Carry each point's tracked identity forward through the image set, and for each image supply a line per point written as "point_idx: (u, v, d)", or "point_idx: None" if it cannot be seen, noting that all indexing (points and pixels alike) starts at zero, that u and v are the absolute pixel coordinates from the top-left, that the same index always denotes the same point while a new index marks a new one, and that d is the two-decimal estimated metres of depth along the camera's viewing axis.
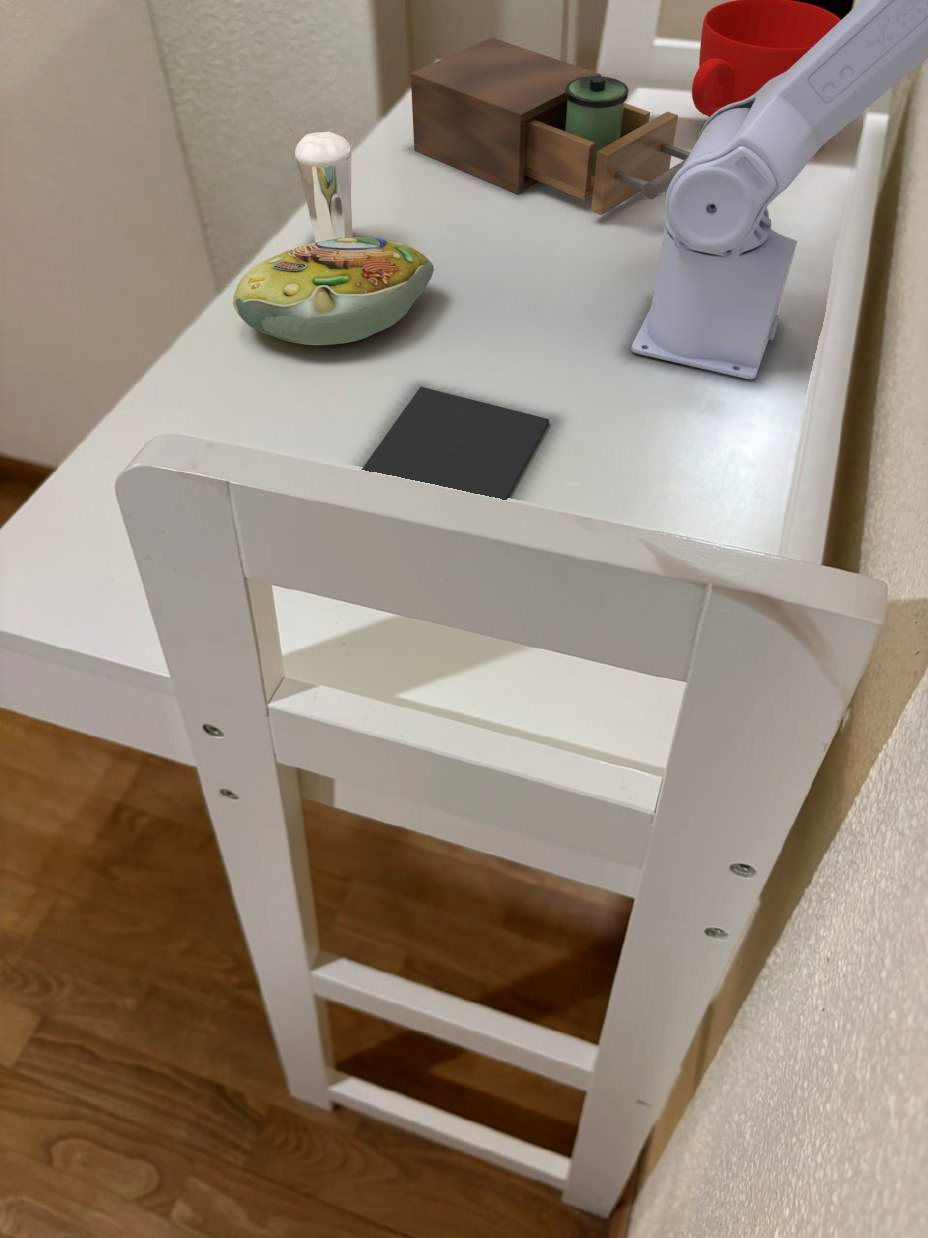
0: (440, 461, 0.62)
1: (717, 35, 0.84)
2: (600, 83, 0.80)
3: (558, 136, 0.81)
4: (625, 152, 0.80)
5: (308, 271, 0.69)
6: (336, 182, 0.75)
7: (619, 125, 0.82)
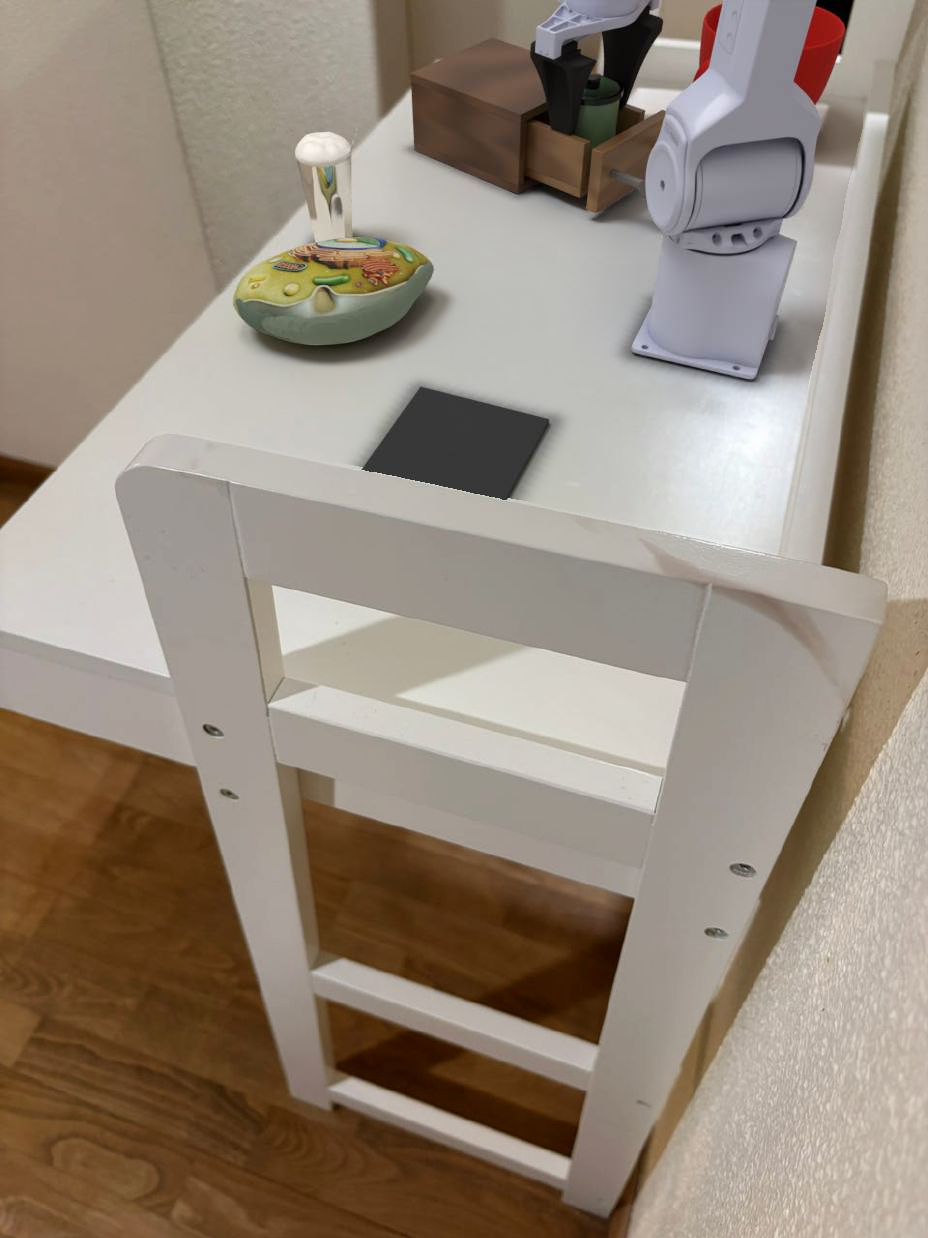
0: (440, 461, 0.62)
1: None
2: (595, 81, 0.80)
3: (553, 134, 0.81)
4: (620, 151, 0.80)
5: (308, 271, 0.69)
6: (336, 182, 0.75)
7: (614, 123, 0.82)
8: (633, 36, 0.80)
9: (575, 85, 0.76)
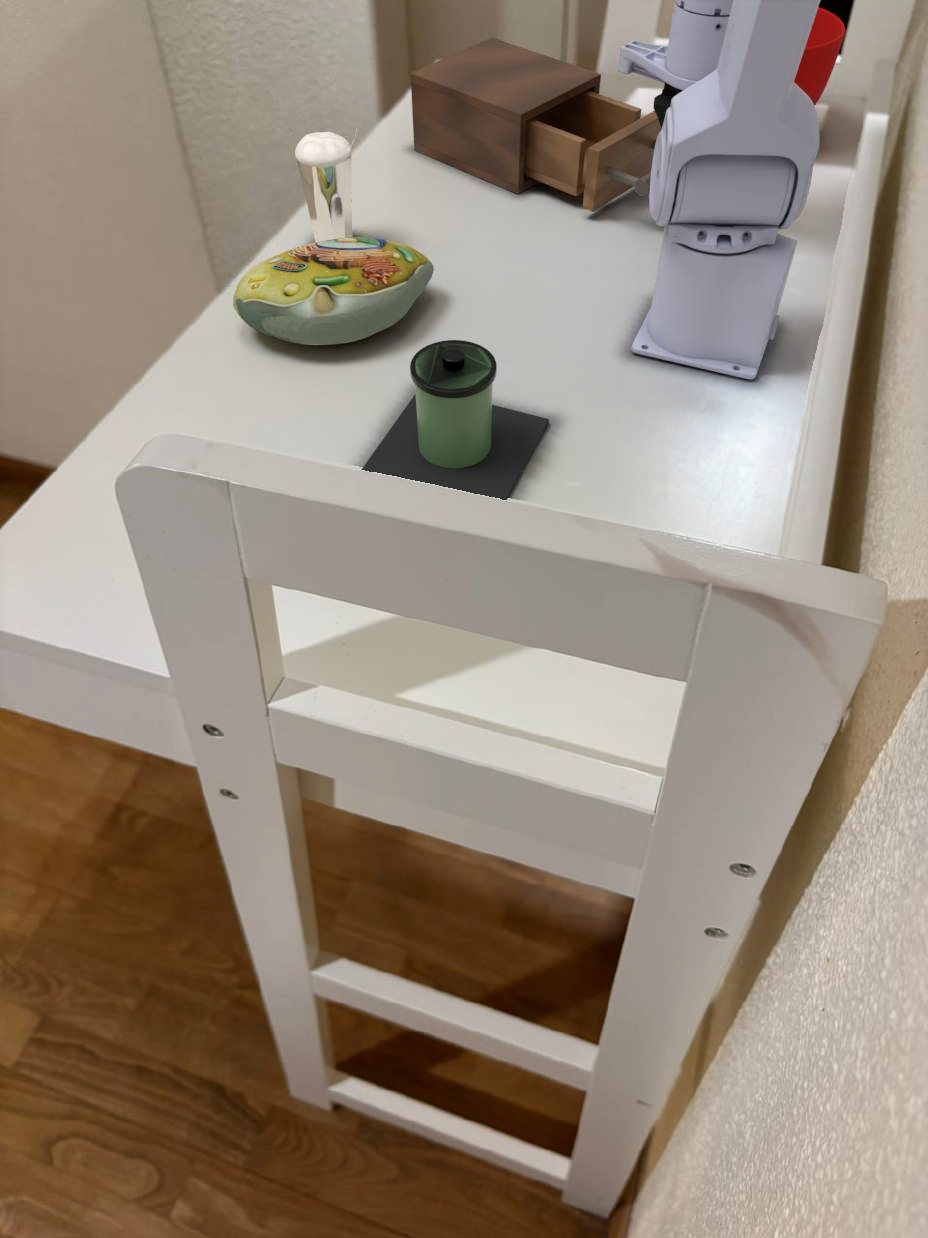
0: None
1: None
2: (455, 362, 0.58)
3: (550, 132, 0.81)
4: (616, 149, 0.80)
5: (308, 271, 0.69)
6: (336, 182, 0.75)
7: (486, 410, 0.60)
8: None
9: None
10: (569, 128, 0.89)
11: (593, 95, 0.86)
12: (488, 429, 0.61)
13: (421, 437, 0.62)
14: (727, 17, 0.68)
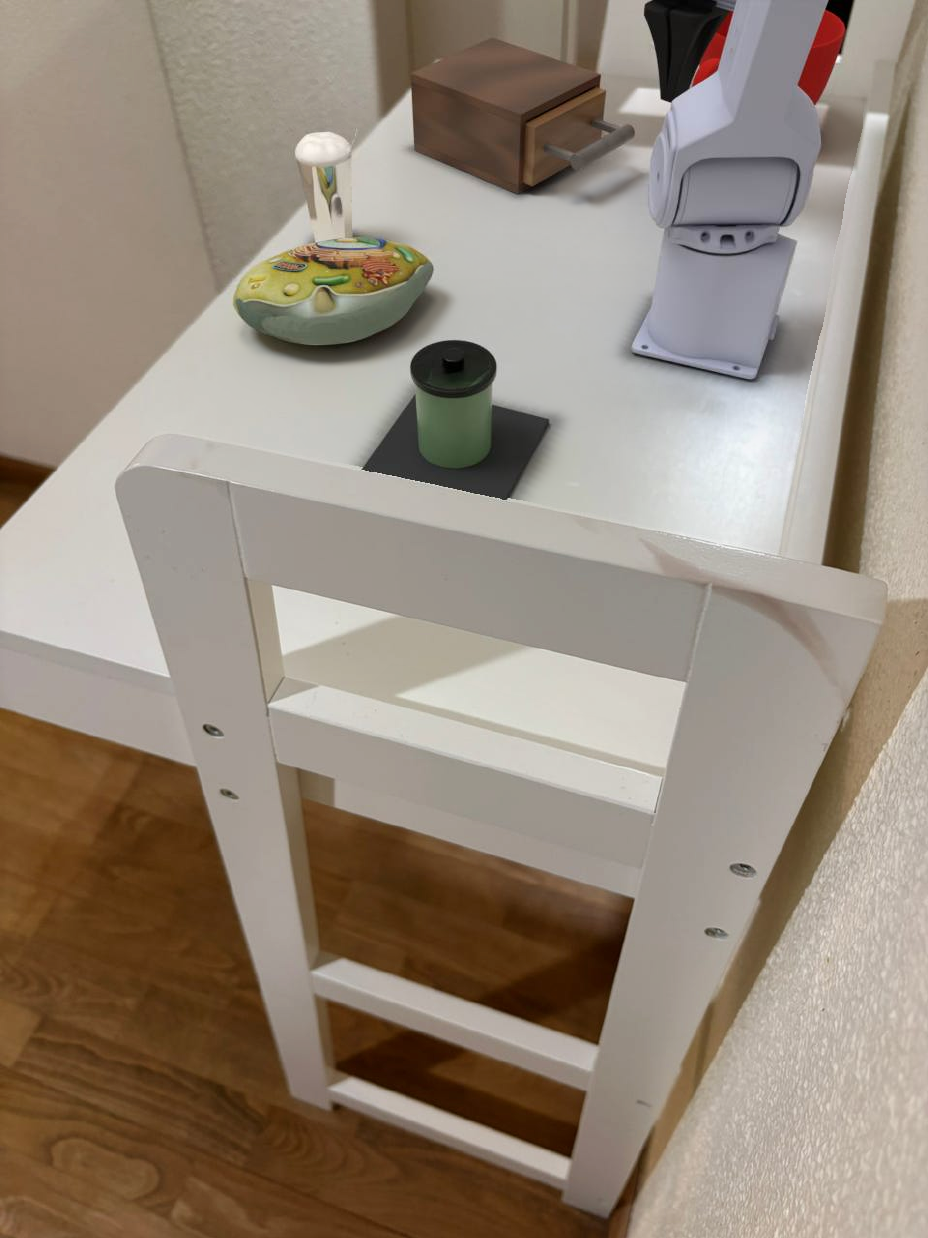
0: None
1: (717, 35, 0.84)
2: (455, 362, 0.58)
3: None
4: (553, 125, 0.83)
5: (308, 271, 0.69)
6: (336, 182, 0.75)
7: (486, 410, 0.60)
8: None
9: None
10: None
11: None
12: (488, 429, 0.61)
13: (421, 437, 0.62)
14: None
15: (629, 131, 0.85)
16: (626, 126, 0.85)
